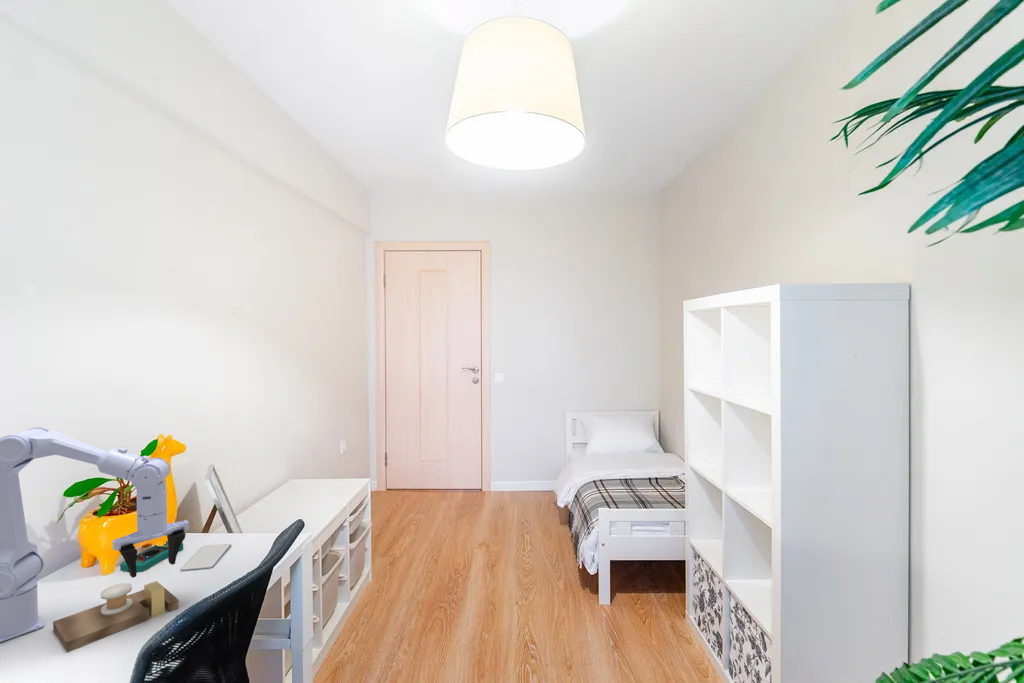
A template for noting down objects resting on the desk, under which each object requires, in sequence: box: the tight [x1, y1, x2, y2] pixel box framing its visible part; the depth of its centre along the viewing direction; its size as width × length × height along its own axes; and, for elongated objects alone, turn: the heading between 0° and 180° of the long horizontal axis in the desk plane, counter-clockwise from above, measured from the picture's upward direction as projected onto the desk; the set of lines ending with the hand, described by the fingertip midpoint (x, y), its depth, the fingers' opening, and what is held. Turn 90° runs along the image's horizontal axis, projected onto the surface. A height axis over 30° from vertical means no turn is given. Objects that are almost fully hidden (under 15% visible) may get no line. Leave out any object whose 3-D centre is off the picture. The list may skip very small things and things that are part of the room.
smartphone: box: [180, 543, 232, 572], centre depth 142 cm, size 8×1×15 cm
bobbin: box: [100, 582, 133, 616], centre depth 112 cm, size 6×6×4 cm
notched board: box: [52, 587, 180, 652], centre depth 112 cm, size 20×12×2 cm, turn 143°
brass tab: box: [143, 580, 166, 619], centre depth 114 cm, size 2×5×6 cm, turn 53°
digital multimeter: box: [119, 540, 184, 573], centre depth 141 cm, size 7×15×3 cm, turn 172°
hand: (153, 569), depth 114 cm, fingers open, 7 cm apart
